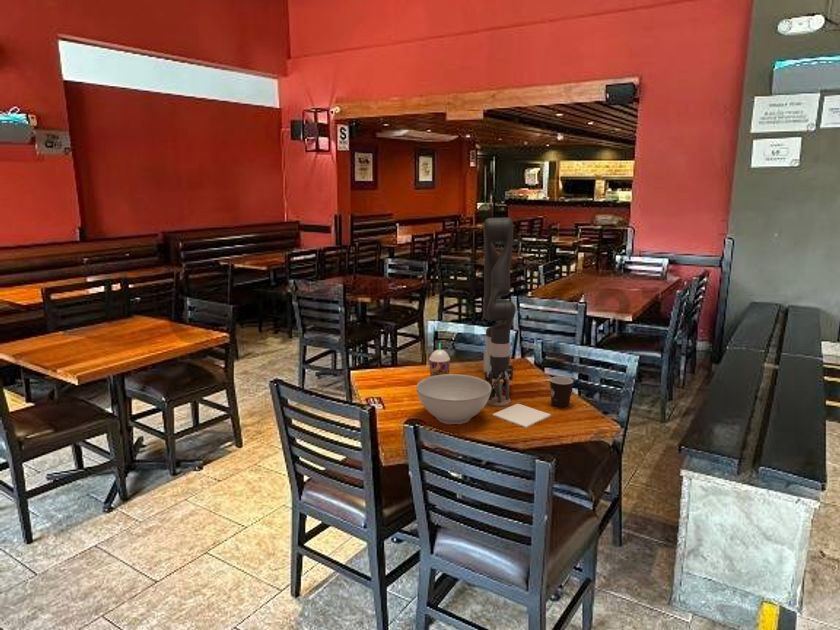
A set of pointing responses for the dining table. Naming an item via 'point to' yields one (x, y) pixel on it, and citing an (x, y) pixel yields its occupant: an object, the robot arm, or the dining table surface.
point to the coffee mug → (560, 391)
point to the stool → (500, 396)
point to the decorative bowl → (453, 396)
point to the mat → (521, 415)
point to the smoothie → (439, 362)
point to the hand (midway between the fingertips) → (498, 394)
